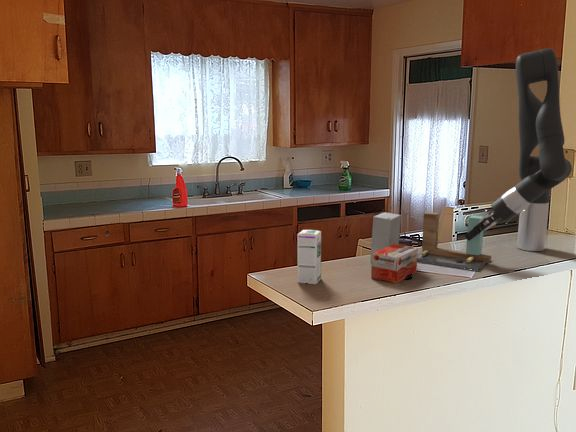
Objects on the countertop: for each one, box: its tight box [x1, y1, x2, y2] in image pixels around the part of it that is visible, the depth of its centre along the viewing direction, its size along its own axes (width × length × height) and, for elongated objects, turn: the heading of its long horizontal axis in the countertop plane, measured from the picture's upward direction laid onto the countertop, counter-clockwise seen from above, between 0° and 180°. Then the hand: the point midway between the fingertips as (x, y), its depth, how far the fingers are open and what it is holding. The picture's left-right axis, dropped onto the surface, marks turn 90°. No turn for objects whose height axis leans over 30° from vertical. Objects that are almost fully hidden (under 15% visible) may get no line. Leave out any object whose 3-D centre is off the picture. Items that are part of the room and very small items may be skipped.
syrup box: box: [296, 229, 322, 285], centre depth 154 cm, size 6×6×14 cm
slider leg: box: [465, 215, 485, 263], centre depth 173 cm, size 9×4×14 cm, turn 147°
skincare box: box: [369, 211, 402, 264], centre depth 174 cm, size 8×7×16 cm
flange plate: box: [417, 251, 488, 272], centre depth 178 cm, size 16×21×1 cm
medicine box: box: [370, 243, 419, 284], centre depth 161 cm, size 15×8×8 cm, turn 144°
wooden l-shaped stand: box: [421, 211, 493, 263], centre depth 176 cm, size 9×22×14 cm, turn 57°
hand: (468, 236), depth 176 cm, fingers closed on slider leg, 4 cm apart
